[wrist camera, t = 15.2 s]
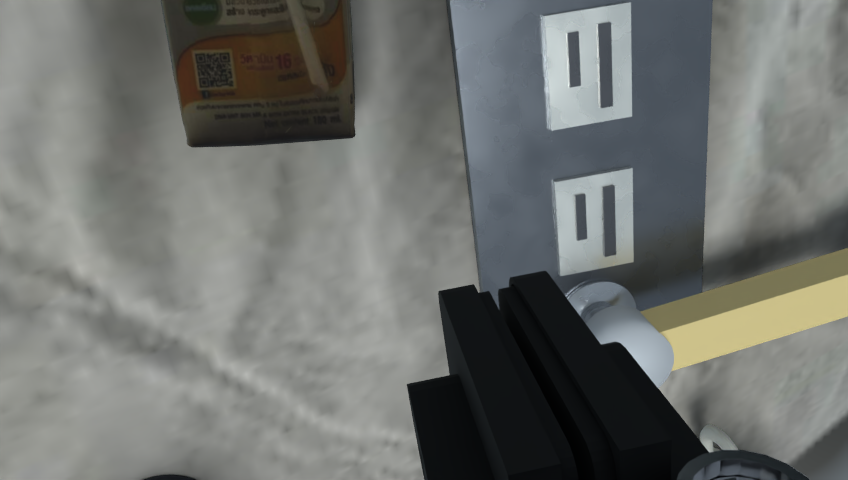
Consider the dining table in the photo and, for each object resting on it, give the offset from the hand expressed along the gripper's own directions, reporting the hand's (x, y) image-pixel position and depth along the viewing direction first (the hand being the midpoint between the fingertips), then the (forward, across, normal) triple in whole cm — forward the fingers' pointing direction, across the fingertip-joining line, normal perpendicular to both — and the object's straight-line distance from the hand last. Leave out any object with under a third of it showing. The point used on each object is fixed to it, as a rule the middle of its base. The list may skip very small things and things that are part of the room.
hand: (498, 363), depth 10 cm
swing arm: (+24, -19, +16) cm, 34 cm away
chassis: (+27, -12, +6) cm, 30 cm away
